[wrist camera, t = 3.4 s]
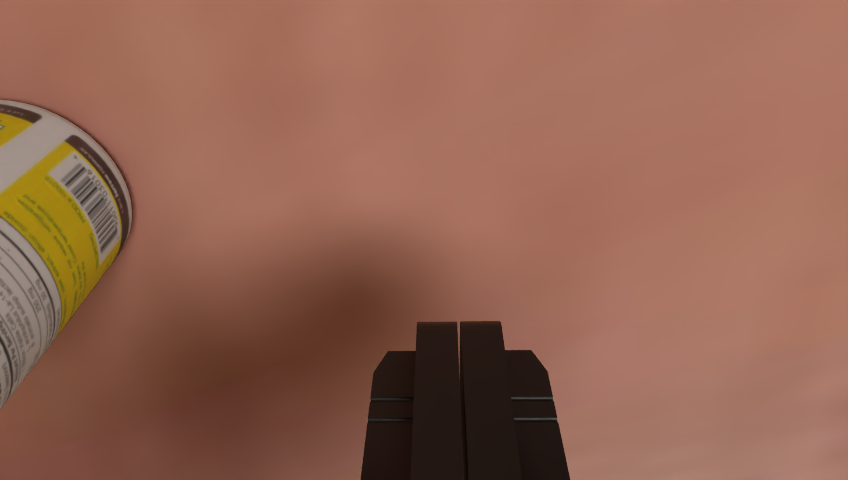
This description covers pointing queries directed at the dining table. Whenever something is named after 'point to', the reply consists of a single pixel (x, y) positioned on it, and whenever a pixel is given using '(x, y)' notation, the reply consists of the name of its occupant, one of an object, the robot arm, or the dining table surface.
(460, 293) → the dining table surface
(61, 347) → the dining table surface
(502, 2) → the dining table surface
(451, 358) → the robot arm
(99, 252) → the supplement bottle
